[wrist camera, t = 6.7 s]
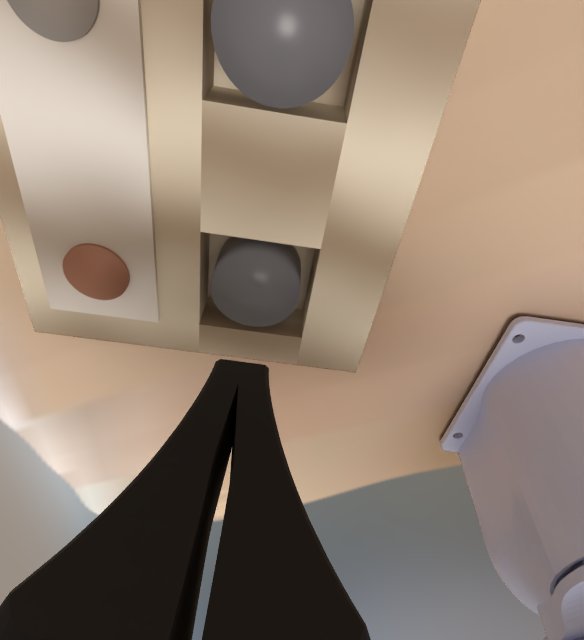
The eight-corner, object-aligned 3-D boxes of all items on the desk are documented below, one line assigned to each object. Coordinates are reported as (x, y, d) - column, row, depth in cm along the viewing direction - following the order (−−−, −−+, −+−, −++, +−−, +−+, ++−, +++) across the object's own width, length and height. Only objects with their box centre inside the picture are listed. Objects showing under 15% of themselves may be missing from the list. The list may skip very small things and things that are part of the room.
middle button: (335, 101, 12) (337, 118, 11) (220, 82, 12) (208, 97, 11) (363, -47, 10) (370, -48, 9) (225, -72, 10) (212, -78, 9)
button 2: (294, 305, 18) (293, 331, 17) (216, 294, 18) (209, 320, 17) (307, 236, 16) (306, 260, 15) (219, 223, 16) (211, 246, 15)
